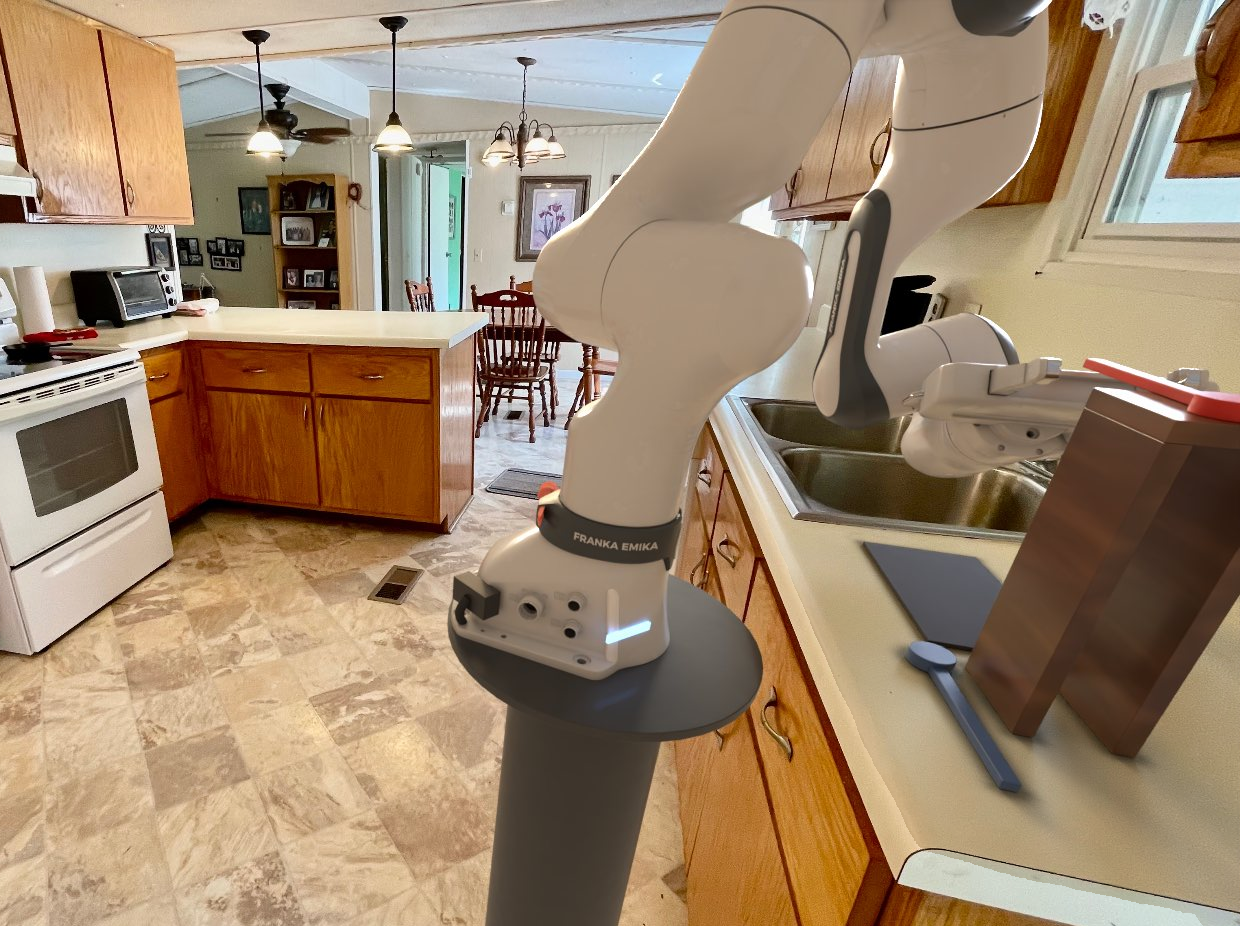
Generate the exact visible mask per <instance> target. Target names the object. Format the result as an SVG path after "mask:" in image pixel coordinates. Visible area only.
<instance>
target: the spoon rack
mask: <svg viewBox="0 0 1240 926" xmlns="http://www.w3.org/2000/svg"><path fill="white" fill-rule="evenodd" d="M1188 406H1189V405H1186V404H1183V403H1181V402H1178V401H1175V400H1172V399H1170V398H1167V397H1164V396H1161V395H1159V394H1156V393H1153V392H1143V391H1130V390H1118V389H1105V388H1093V390H1092V392H1091V394H1090V396H1089V398H1088V400H1087V403H1086V405H1085V408H1084V410H1083V412H1082V414H1081V416H1080V418H1079V420H1078V423H1077V425H1076V427H1075V429H1074V431H1073V433H1072V436H1071V438H1070V440H1069V442H1068V444H1067V446H1066V449H1065V451H1064V453H1063V455H1062V457H1061V458H1059V462H1058V464H1057V465H1056V468H1055V471H1054V473H1053V475H1052V477H1051V479H1050V481H1049V483H1048V485H1047V487H1046V489H1045V492H1044V494H1043V497H1042V499H1041V501H1040V503H1039V505H1038V507H1037V509H1036V511H1035V514H1034V516H1033V518H1032V520H1031V522H1030V524H1029V526H1028V529H1027V531H1026V533H1025V535H1024V537H1023V539H1022V541H1021V544H1020V546H1019V548H1018V550H1017V553H1016V555H1015V557H1014V559H1013V562H1011V566H1010V567H1009V570H1008V572H1007V574H1006V576H1005V579H1004V581H1003V583H1002V587H1001V589H1000V591H999V594H998V596H997V598H996V600H995V602H994V604H993V607H992V609H991V611H990V613H989V615H988V617H987V620H986V622H985V624H984V626H983V628H982V630H981V633H980V635H979V637H978V639H977V641H976V643H975V646H974V648H973V650H972V651H970V655H969V657H968V658H967V661H966V663H965V665H964V668H965V669H966V670H967V671H968V673H969V675H970V676H971V677H972V679H973V680H974V682H975V683H976V685H977V686H978V687H979V689H980V690H981V692H982V693H983V695H984V696H985V697H986V699H987V700H988V702H989V703H990V706H992V708H993V709H994V710H995V712H996V714H997V715H998V716H999V718H1000V720H1001V721H1002V722H1003V724H1004V725H1005V726H1006V727H1007V729H1008V731H1009V732H1010V733H1011V734H1012V735H1017V736H1022V737H1026V738H1027V737H1028V738H1035V736H1036V734H1037V732H1038V730H1039V728H1040V727H1041V725H1042V723H1043V722H1044V720H1045V717H1046V716H1047V714H1048V712H1049V710H1050V708H1051V706H1052V705H1053V704H1054V703H1053V702H1054V701H1055V699H1056V697H1057V695H1058V694H1060V695H1061V696H1062V698H1063V699H1064V700H1065V702H1067V703H1068V704H1069V706H1070V707H1071V708H1072V709H1073V710H1074V712H1075V713H1076V714H1077V715H1078V716H1079V718H1080V719H1081V720H1082V721H1083V722H1084V723H1085V724H1086V725H1087V727H1088V728H1089V729H1090V731H1092V732H1093V734H1094V735H1095V736H1096V737H1097V738H1098V739H1099V741H1100V742H1101V743H1102V745H1104V747H1105V748H1106V749H1107V750H1108V751H1109V752H1110V754H1114V755H1117V756H1123V757H1129V758H1133V759H1135V758H1136V757H1137V756H1138V754H1139V753H1140V751H1141V749H1142V748H1143V746H1144V745H1145V743H1146V742H1147V740H1148V738H1149V737H1150V735H1151V734H1152V733H1153V731H1154V729H1155V727H1157V724H1158V723H1159V721H1160V720H1161V718H1162V717H1163V715H1164V714H1165V712H1166V711H1167V709H1168V708H1169V706H1170V704H1171V703H1172V701H1173V699H1174V698H1175V697H1176V695H1177V694H1178V692H1179V691H1180V689H1181V687H1182V686H1183V684H1184V683H1185V681H1186V679H1187V678H1188V676H1189V675H1190V673H1191V672H1192V670H1193V668H1194V667H1195V665H1196V664H1197V663H1198V661H1199V659H1200V658H1201V656H1202V654H1203V653H1204V651H1205V650H1206V648H1207V647H1208V645H1209V644H1210V642H1211V641H1212V639H1213V638H1214V637H1215V634H1216V633H1217V631H1218V630H1219V628H1220V626H1221V625H1222V624H1223V622H1224V620H1226V618H1227V616H1228V614H1229V613H1230V611H1231V609H1233V606H1234V605H1235V604H1236V602H1237V600H1238V599H1239V597H1240V423H1237V422H1229V421H1223V420H1217V419H1212V418H1208V417H1203V416H1199V415H1196V414H1193V413H1190V412H1189V411H1187V408H1188Z"/></svg>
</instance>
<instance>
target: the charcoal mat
mask: <svg viewBox="0 0 1240 926" xmlns="http://www.w3.org/2000/svg"><path fill="white" fill-rule="evenodd" d="M862 545H863V547H864V549H865V550H866V551H867V553H868V554H869V556H870V558H871V559H872V561H873V562H874V564H875V565H876V567H877V568H878V570H879V572H880V573H881V575H882V576H883V578H884V579H885V581H886V583H887V584H888V585H889V587H890V589H891V590H892V592H893V593H894V595H895V596H896V598H897V599H898V601H899V602H900V604H901V605H902V607H903V608H904V610H905V611H906V613H907V615H908V616H909V617H910V620H911V621H912V623H914V626H915V627H916V628H917V630H918V632H919V633H920V635H921V636H922V637H923V639H924V642H930V643H933V644H936V645H939V646H941V647H944V648H952V649H956V650H957V649H958V650H964V651H970V652H972V650H973V648H974V646H975V643H976V641H977V639H978V637H979V635H980V633H981V630H982V628H983V626H984V624H985V622H986V620H987V617H988V615H989V613H990V611H991V609H992V607H993V604H994V602H995V600H996V598H997V596H998V594H999V591H1000V589H1001V587H1002V585H1003V583H1001V581H999V580H998V579H997V577H996V576H995V575H994V574H993V573H992V572H991V571H990V570H989V569H988V568H987V567H986V566H985V565H984V564H983V563H982V562H981V561H980V560H979V558H977V556H970V555H964V554H956V553H949V552H943V551H935V550H928V549H920V548H913V547H906V546H900V545H892V544H886V543H885V544H884V543H877V542H871V541H863V542H862Z"/></svg>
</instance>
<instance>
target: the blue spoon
mask: <svg viewBox="0 0 1240 926" xmlns="http://www.w3.org/2000/svg"><path fill="white" fill-rule="evenodd" d="M905 658H906V660H907V661H908V662H909V663H910V664H911V665H912V666H914V667H915V668H917V669H919V670H921V671H923V672H925V673H928V674H929V677H930V679H932V681H933V683H934V685H935V686H936V688H937V689H938V691H939V693H940V694H941V696H942V698H943V700H944V701H945V703H946V704H947V706H948V707H949V709H950V711H951V713H952V714H953V716H954V717H955V719H956V720H957V722H958V724H959V725H960V727H961V729H962V731H963V732H964V734H965V735H966V737H967V739H968V740H969V742H970V744H971V746H972V747H973V748H974V751H975V752H976V753H977V755H978V757H979V758H980V760H981V762H982V764H983V765H984V766H985V768H986V769H987V771H988V773H989V774H990V776H991V778H992V780H993V781H994V783H995V785H996V786H997V788H998V789H1001V790H1003V791H1004V790H1005V791H1009V792H1013V793H1019V792H1020V790H1021V788H1022V786H1023V784H1022V783H1021V781H1020V780H1019V778H1018V776H1017V775H1016V773H1015V772H1014V770H1013V769H1012V767H1011V766H1010V764H1009V763H1008V762H1007V760H1006V758H1005V756H1004V755H1003V753H1002V752H1001V750H1000V749H999V747H998V745H997V744H996V743H995V741H994V740H993V738H992V736H991V735H990V734H989V732H988V731H987V729H986V728H985V726H984V724H983V723H982V721H981V719H980V718H979V717H978V715H977V714H976V712H975V711H974V709H973V708H972V706H971V704H970V703H969V702H968V700H967V698H966V697H965V695H964V694H963V692H962V691H961V689H960V688H959V686H958V684H957V683H956V681H955V680H954V678H953V677H952V675H951V674H952V673H953V672H954V670H955V667H956V665H957V662H958V660H957V659H958V658H957V657H956V656H955V654H954V653H953V652H952V651H950V650H949V649H947V648H946V647H944V646H939V645H936V644H933V643H930V642H926V641H925V640H924V641H923V640H915V641H912V642H911V643H909V645H908V648H907V650H906V651H905Z"/></svg>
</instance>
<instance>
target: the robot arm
mask: <svg viewBox="0 0 1240 926" xmlns="http://www.w3.org/2000/svg"><path fill="white" fill-rule="evenodd" d="M1052 1H1053V0H728V1H727V3H726V5H725V7H724V9H723V10H722V12H721V14H720V16H719V17H718V19H717V21H716V23H715V25H714V27H713V29H712V30H711V32H710V34H709V36H708V39H707V41H706V42H705V44H704V46H703V48H702V50H701V52H700V54H699V55H698V57H697V59H696V61H695V63H694V65H693V67H692V69H691V71H690V73H689V74H688V77H687V78H686V80H685V82H684V83H683V86H682V88H681V89H680V91H679V93H678V95H677V97H676V98H675V100H674V102H673V104H672V106H671V107H670V110H669V112H668V113H667V114H666V117H665V118H664V120H663V122H662V123H661V124H660V127H658V129H657V130H656V132H655V134H654V135H653V136H652V138H650V141H648V143H647V144H646V145H645V146H644V148H643V149H642V150H641V152H640V153H639V155H638V156H637V157H636V158H635V159H634V160H633V162H632V163H631V164H630V165H629V167H628V168H626V170H625V171H624V172H623V173H622V174H621V176H620V177H619V178H618V179H617V180H616V181H615V183H613V185H612V186H611V187H610V188H609V189H608V190H607V191H606V192H605V194H604V195H603V196H601V198H600V199H599V200H598V201H597V202H596V203H594V205H593V206H592V207H591V208H590V209H589V210H588V211H586V212H585V213H584V214H583V215H581V217H579V218H578V219H576V220H575V221H573V222H572V223H570V224H569V225H568V226H566V227H565V228H563V229H561V230H560V231H559V230H558V232H556V233H555V234H554V235H553V236H552V237H551V238H549V240H548V241H547V242H546V243H545V244H544V246H543V247H542V249H541V251H540V252H539V255H538V257H537V259H536V262H535V264H534V267H533V272H532V279H531V280H532V281H531V285H532V286H531V288H532V297H533V301H534V304H535V307H536V309H537V312H538V313H539V315H540V316H541V317H542V318H543V319H544V320H545V321H546V322H547V323H549V324H550V325H551V326H552V327H554V328H555V329H557V330H558V331H560V332H561V333H563V334H564V335H566V336H568V337H570V338H571V339H573V340H574V341H576V342H578V343H582V344H585V345H589V346H593V347H596V348H600V349H603V350H606V351H607V350H608V351H611V352H615V353H617V355H618V360H617V364H616V365H617V366H616V369H615V372H614V375H613V377H612V380H611V382H610V383H609V386H608V388H607V390H606V392H605V393H604V395H603V396H602V397H600V398H598V399H595V400H593V401H591V402H589V403H587V404H586V405H584V406H582V407H581V408H580V409H578V411H577V412H576V413H575V414H574V415H573V416H572V419H571V420H570V423H569V425H568V429H567V436H566V446H565V454H564V460H563V468H562V475H561V483H560V484H561V485H560V488H559V486H557V483H555V482H553V481H551V480H550V481H549V480H548V481H545V482H543V483H542V484H541V485H540V487H539V490H538V492H537V499H538V503H537V508H536V512H535V513H536V515H535V522H534V523H532V524H529V525H528V526H526V527H524V528H522V529H519V530H517V531H515V532H512V533H509V534H508V535H506V536H504V537H502V538H500V539H498V540H497V541H496V542H494V544H493V545H492V546H491V547H490V548H489V550H488V551H487V552H486V554H485V556H484V557H483V560H482V561H481V563H480V566H479V568H478V569H477V570H475V571H474V572H471V571H470V570H468V571H465V572H462V573H459V574H456V575H454V576H453V579H452V581H453V582H452V598H453V599H454V601H453V605H452V610H451V623H452V626H453V628H454V630H455V632H456V634H457V635H459V636H461V637H464V638H467V639H470V640H473V641H475V642H478V643H481V644H484V645H488V646H491V647H494V648H497V649H500V650H503V651H506V652H509V653H512V654H515V655H518V656H521V657H524V658H527V659H530V660H533V661H536V662H539V663H542V664H545V665H548V666H551V667H554V668H557V669H560V670H563V671H566V672H569V673H572V674H575V675H578V676H581V677H584V678H587V679H590V680H601V679H604V678H606V677H608V676H610V675H611V674H613V673H614V672H616V671H617V670H619V669H623V668H627V667H632V666H637V665H642V664H645V663H648V662H650V661H652V660H655V659H656V658H658V657H659V656H661V655H662V654H663V653H664V652H665V651H666V649H667V648H668V645H669V642H670V633H669V627H668V617H667V589H668V576H669V574H670V570H672V567H673V564H674V561H675V560H676V558H677V553H678V549H679V546H680V545H679V543H680V539H681V535H682V529H683V511H682V508H681V503H682V499H683V494H684V489H685V486H686V482H687V477H688V473H689V469H690V465H691V462H692V457H693V453H694V450H695V447H696V444H697V441H698V439H699V436H700V434H701V431H703V430H702V429H703V427H704V426H705V424H706V422H707V421H708V419H709V417H710V416H711V414H712V412H714V410H715V408H716V407H717V406H718V405H719V403H720V402H721V401H722V400H723V399H724V398H725V397H726V395H727V394H729V393H730V392H731V391H732V390H733V389H734V388H735V387H737V386H738V385H739V384H741V383H742V382H744V381H746V380H747V379H748V378H751V377H753V376H754V375H756V374H759V373H761V372H762V371H764V370H766V369H768V368H770V367H771V366H772V365H774V364H775V363H776V362H778V361H779V360H780V359H781V358H782V357H783V356H784V355H785V354H786V353H787V352H788V351H789V350H790V349H791V348H792V347H793V345H794V344H795V343H796V342H797V340H798V339H799V337H800V335H801V334H802V333H803V330H804V328H805V326H806V324H807V322H808V319H809V316H810V314H811V310H812V305H813V299H814V277H813V272H812V268H811V265H810V263H809V260H808V257H807V255H806V253H805V251H804V250H803V248H802V247H801V246H800V245H799V244H797V243H796V242H795V241H793V240H791V239H789V238H786V237H783V236H781V235H778V234H775V233H771V232H769V231H766V230H763V229H759V228H757V227H754V226H753V227H752V226H748V225H745V224H743V223H738V222H730V221H731V220H733V219H734V218H735V217H737V216H738V215H740V214H741V213H742V212H745V211H746V210H747V209H749V208H751V207H754V206H755V205H757V204H759V203H761V202H763V201H765V200H766V199H768V198H769V197H772V195H774V194H776V193H777V192H779V190H781V189H782V188H783V187H784V186H786V185H787V184H788V182H789V181H790V180H791V179H792V178H793V177H794V176H795V174H796V173H797V172H798V170H799V169H800V167H801V164H803V161H804V160H805V158H806V156H807V155H808V152H809V151H810V149H811V147H812V146H813V144H814V142H815V140H816V138H817V137H818V135H819V133H820V131H821V129H822V128H823V126H824V124H825V122H826V120H827V118H828V117H829V116H830V114H831V112H832V109H833V108H834V106H835V104H836V102H837V101H838V99H839V97H840V95H841V94H842V92H843V89H844V88H845V86H846V85H847V82H848V81H849V78H850V77H851V75H852V73H853V71H854V70H855V67H856V65H857V64H858V63H859V60H866V59H871V58H879V57H884V56H899V57H900V58H899V62H898V67H897V73H896V74H897V75H896V80H895V82H896V83H895V87H894V95H893V105H892V118H891V119H892V121H891V135H890V141H889V146H888V149H887V153H886V157H885V159H884V161H883V165H882V167H881V169H880V172H879V173H878V176H877V177H876V179H875V181H874V183H873V184H872V186H871V188H870V189H869V191H868V192H867V193H866V194H865V195H864V196H862V197H861V198H860V199H859V200H858V202H856V204H855V205H854V207H853V209H852V211H851V214H850V217H849V220H848V223H847V228H846V231H845V235H844V239H843V243H842V248H841V252H840V253H841V254H840V258H839V262H838V263H839V264H838V268H837V274H836V279H835V284H834V290H833V295H832V300H831V306H830V312H829V316H828V321H827V322H828V323H827V326H826V333H825V336H824V342H823V345H822V348H821V350H820V354H819V357H818V359H817V362H816V364H815V367H814V370H813V375H812V382H811V385H812V396H813V397H812V398H813V401H814V404H815V407H816V409H817V411H818V412H819V414H820V415H821V416H822V417H823V418H824V419H826V420H828V421H829V422H831V423H833V424H835V425H837V426H838V427H839V426H840V427H842V428H844V429H848V430H851V431H855V432H859V431H863V430H866V429H868V428H872V427H875V426H877V425H880V424H884V423H886V422H889V420H891V419H892V420H893V419H897V418H901V417H905V416H908V415H912V417H911V421H910V423H909V425H908V427H907V429H906V430H905V432H904V433H903V435H902V438H901V441H900V451H901V454H902V457H903V459H904V460H905V462H906V463H907V464H908V465H909V466H910V467H911V468H913V469H914V470H915V471H918V472H920V473H922V474H923V475H926V476H929V477H933V478H939V479H959V478H965V477H970V476H976V475H980V474H983V473H986V472H990V471H993V470H995V469H997V468H1000V467H1003V466H1010V465H1013V464H1017V463H1019V462H1023V461H1024V462H1025V461H1026V462H1034V461H1042V460H1049V459H1061V457H1062V455H1063V453H1064V451H1065V449H1066V446H1067V444H1068V442H1069V440H1070V438H1071V436H1072V433H1073V431H1074V429H1075V427H1076V425H1077V423H1078V420H1079V418H1080V416H1081V414H1082V412H1083V410H1084V408H1085V405H1086V403H1087V400H1088V398H1089V396H1090V394H1091V392H1092V390H1093V388H1105V389H1118V390H1130V391H1143V392H1150V391H1147V390H1145V389H1142V388H1139V387H1136V386H1134V385H1131V384H1128V383H1125V382H1123V381H1120V380H1117V379H1114V378H1111V377H1109V376H1106V375H1103V374H1100V373H1098V372H1095V371H1080V370H1069V369H1067V370H1066V369H1061V368H1060V367H1062V365H1063V362H1062V359H1060V358H1054V357H1042V356H1041V357H1040V356H1038V357H1036V358H1033V359H1032V360H1030V361H1028V362H1020V358H1019V355H1018V352H1017V350H1016V347H1015V346H1014V345H1015V344H1014V343H1013V341H1012V339H1011V338H1010V336H1009V335H1008V333H1006V331H1004V330H1003V328H1001V327H1000V326H998V325H997V324H996V323H994V322H993V321H992V320H990V319H988V318H986V317H984V316H981V315H979V314H976V313H973V312H961V313H958V314H954V315H950V316H947V317H946V316H945V317H942V318H938V319H935V320H930V321H927V322H924V323H920V324H917V325H915V326H912V327H909V328H905V329H902V330H898V331H894V332H890V333H887V334H883V335H881V331H882V328H883V324H884V323H883V322H884V319H885V315H886V309H887V306H888V301H889V297H890V293H891V288H892V285H893V280H894V278H895V277H896V273H897V272H898V270H899V268H900V267H901V265H903V263H904V262H905V260H906V259H907V258H908V257H909V256H910V255H911V254H912V253H913V252H914V251H916V250H917V249H918V247H920V246H921V245H922V244H923V243H925V242H926V241H927V240H928V239H930V238H931V237H932V236H934V235H935V234H936V233H938V232H940V231H941V230H942V229H944V228H945V227H947V226H948V225H950V224H951V223H953V222H954V221H956V220H958V219H960V218H961V217H963V216H964V215H966V214H967V213H969V212H971V211H973V210H974V209H976V208H977V207H980V206H981V205H983V204H984V203H985V202H987V201H988V200H989V199H990V198H992V197H993V196H994V195H996V194H997V193H998V192H999V191H1001V190H1002V189H1003V188H1004V187H1005V186H1006V185H1007V184H1008V183H1009V182H1010V181H1011V180H1012V179H1013V178H1014V177H1015V176H1016V174H1017V173H1018V172H1020V170H1021V169H1022V168H1023V167H1024V165H1025V164H1026V162H1027V160H1028V158H1029V156H1030V153H1031V152H1032V150H1033V147H1034V145H1035V142H1036V139H1037V136H1038V132H1039V128H1040V124H1041V118H1042V112H1043V111H1042V110H1043V104H1044V98H1045V97H1044V95H1045V89H1046V81H1047V74H1048V73H1047V72H1048V61H1049V46H1050V45H1049V42H1050V40H1049V36H1050V35H1049V34H1050V33H1049V32H1050V20H1049V5H1050V4H1051V2H1052ZM1159 378H1162V379H1165V380H1168V381H1171V382H1174V383H1177V384H1180V385H1183V386H1186V387H1189V388H1192V389H1195V390H1199V391H1211V392H1221V389H1220V386H1219V384H1218V383H1217V382H1215V381H1213V380H1209V379H1210V371H1209V370H1208V369H1204V368H1189V367H1188V368H1187V367H1181V368H1179V369H1178V370H1173V371H1171V372H1167V374H1166V377H1160V376H1159Z"/></svg>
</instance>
